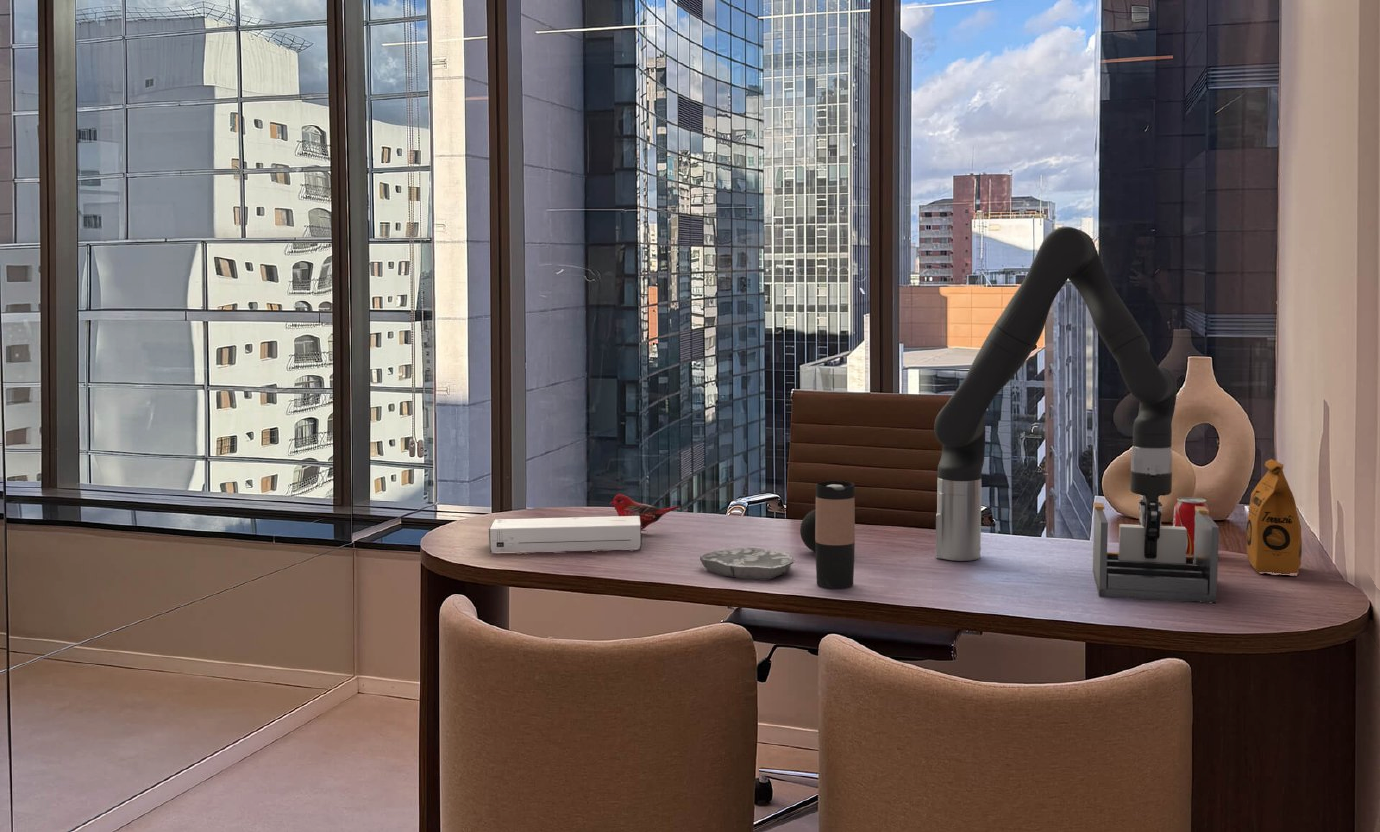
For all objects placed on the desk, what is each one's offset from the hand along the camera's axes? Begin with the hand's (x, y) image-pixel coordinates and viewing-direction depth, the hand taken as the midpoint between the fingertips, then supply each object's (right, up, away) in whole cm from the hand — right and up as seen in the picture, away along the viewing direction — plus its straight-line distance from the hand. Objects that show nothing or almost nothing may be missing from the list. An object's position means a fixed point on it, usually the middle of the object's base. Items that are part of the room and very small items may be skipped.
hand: (1149, 555), depth 221 cm
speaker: (-61, -3, +27) cm, 67 cm away
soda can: (+18, -3, +21) cm, 28 cm away
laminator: (-119, -3, +36) cm, 124 cm away
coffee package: (+28, -4, +7) cm, 29 cm away
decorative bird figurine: (-101, -1, +50) cm, 113 cm away
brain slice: (-78, -5, +12) cm, 79 cm away
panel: (0, -3, 0) cm, 3 cm away
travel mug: (-62, -6, -1) cm, 62 cm away
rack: (-2, -5, -5) cm, 8 cm away
